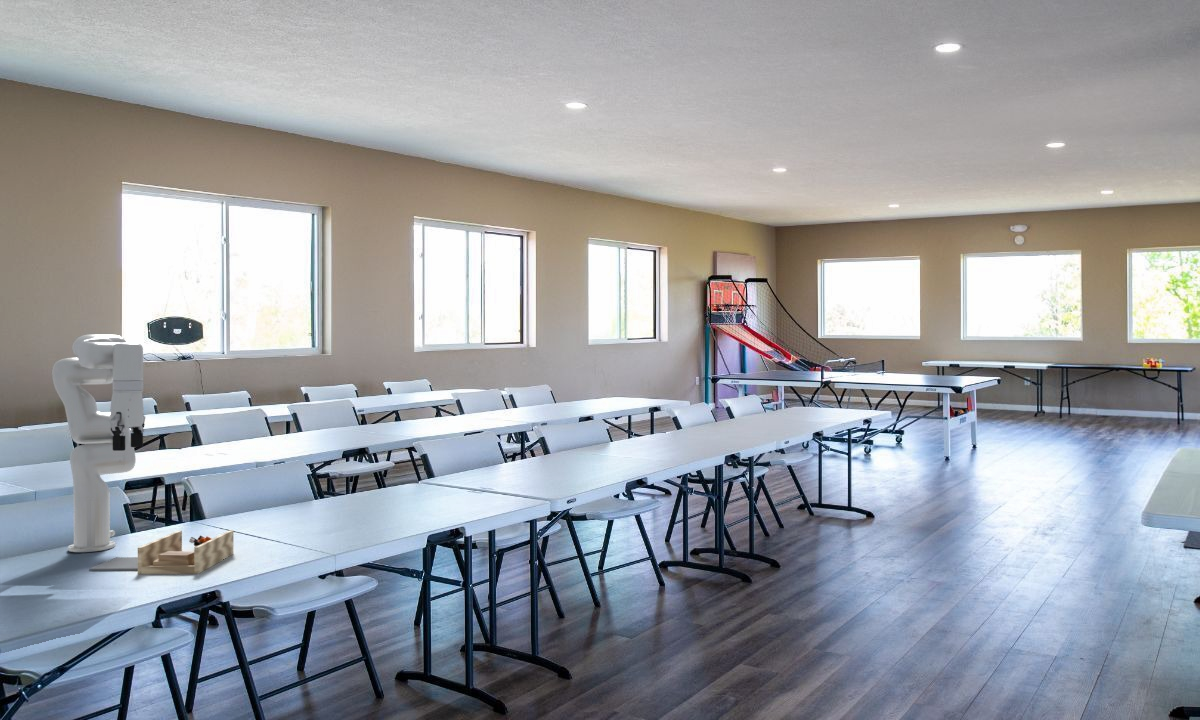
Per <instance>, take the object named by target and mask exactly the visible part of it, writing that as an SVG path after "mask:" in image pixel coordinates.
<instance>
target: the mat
mask: <svg viewBox="0 0 1200 720" xmlns="http://www.w3.org/2000/svg"><path fill="white" fill-rule="evenodd" d="M88 571H89V572H105V571H106V572H115V571H117V572H118V571H120V572H123V571H125V572H126V571H127V572H130V571H131V572H133V571H134V572H138V556H133V557H131V556H130V557H129V556H125V557H122V556H121V557H120V556H119V557H118V556H117V557H116V556H115V557H113V558H111V559H109V560H107V561H104V562H102V563H100V564H99V563H98V564H97V565H95V566H92V567H90V568H89V569H88Z"/></svg>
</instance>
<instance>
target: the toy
mask: <svg viewBox="0 0 1200 720" xmlns="http://www.w3.org/2000/svg"><path fill="white" fill-rule="evenodd" d="M211 539H212V538H211V537H209V536H205V537H204V536H202V535H199V536H198V537H197V538H195V537H193V536H191V537H190V539H189V540H188V542H189V543H191V544H193V546H194V547H196V546H199V545H201V544H203V543H205V542H207V541H209V540H211Z"/></svg>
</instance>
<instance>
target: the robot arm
mask: <svg viewBox="0 0 1200 720" xmlns="http://www.w3.org/2000/svg"><path fill="white" fill-rule="evenodd" d="M71 348H72V352H73V354H74V356H75V357H67V358H65V357H64V358H62V359H59V360H57V361H56V362H55V363H54V364H53V367H52V371H51V372H52V375H51V376H52V382H53V386H54V389H55V391H56V393H57V395H58V397H59V398H60V400H61V402H62V403H63V407H64V411H65V415H66V420H67V425H68V431H69V433H70V437H71V439H72V441H73V442H74V443H76V444H81V445H77V446H76V447H74V448H73V449H72V450H71V452H70V454H69V465H70V469H71V475H72V485H73V543H72V544H70V545H68V546H67V551H68V552H71V553H93V552H100V551H107V550H110V549H113V548H116V544H117V543H116V542H115V540H114V541H113V540H111V537H114V536H115V535H116V531H115V530H114V529H112V530H111V527H110V526H111V521H110V520H111V518H110V517H111V514H110V513H111V507H110V506H111V504H110V503H111V500H110V499H111V497H110V496H111V495H110V494H111V493H110V490H111V489H110V487H109V484H108V483H106V481H104V479H103V478H102V477H101V476H102V475H111V474H112V475H113V474H122V473H128V472H131V471H132V470H133V469H134V468H135V466H136V452H135V448H143V446H144V433H145V429H144V427H145V425H146V424H145V421H146V416H145V414H144V400H143V399H144V398H143V392H144V347H143V345H142V344H141V343H137V342H127V341H126V340H125V338H124V337H122V336H121V335H117V334H93V333H92V334H84V335H81V336H79V337H77V338H76V339H75V341H74V342H73V344H72V347H71ZM110 384H112V395H111V400H110V410H109V411H104V412H103V411H102V412H101V411H99V410H98V407H97V402H96V399H95V397H94V396H92V395H93V394H90V392H88V391H87V390H86V389H85V388H83V387H82V386H81V385H110ZM130 430H131V431H130Z"/></svg>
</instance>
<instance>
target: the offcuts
mask: <svg viewBox="0 0 1200 720" xmlns="http://www.w3.org/2000/svg"><path fill="white" fill-rule="evenodd" d="M181 565H194V551H183V550H182V551H167V552H165V553H162V554H159V559H157V560H155V561H153V566H181Z"/></svg>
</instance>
